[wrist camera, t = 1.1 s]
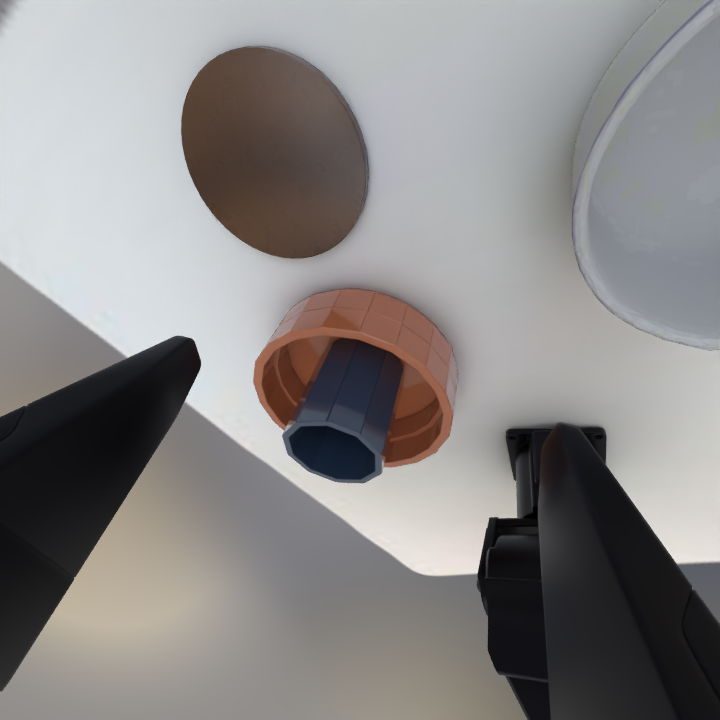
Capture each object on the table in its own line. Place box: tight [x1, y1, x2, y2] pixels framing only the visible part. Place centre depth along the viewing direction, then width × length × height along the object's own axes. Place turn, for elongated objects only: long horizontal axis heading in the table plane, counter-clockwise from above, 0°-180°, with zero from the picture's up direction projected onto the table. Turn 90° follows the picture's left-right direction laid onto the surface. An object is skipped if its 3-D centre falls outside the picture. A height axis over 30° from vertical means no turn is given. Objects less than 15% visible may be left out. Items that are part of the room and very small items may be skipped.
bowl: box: [253, 289, 458, 467], centre depth 27 cm, size 13×13×4 cm
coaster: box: [181, 46, 368, 258], centre depth 20 cm, size 10×10×1 cm
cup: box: [282, 338, 404, 483], centre depth 26 cm, size 6×6×8 cm
